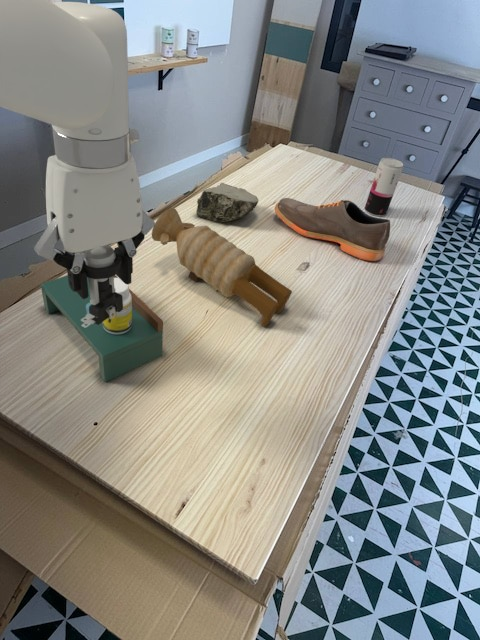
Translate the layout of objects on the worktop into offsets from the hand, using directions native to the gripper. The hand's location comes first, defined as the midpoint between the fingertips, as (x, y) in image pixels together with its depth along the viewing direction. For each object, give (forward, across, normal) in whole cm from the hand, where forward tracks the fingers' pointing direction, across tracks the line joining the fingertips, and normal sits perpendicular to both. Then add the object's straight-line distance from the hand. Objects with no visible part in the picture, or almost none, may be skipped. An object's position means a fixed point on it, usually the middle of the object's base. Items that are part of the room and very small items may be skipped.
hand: (102, 284), depth 60 cm
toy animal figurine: (+21, -32, -13) cm, 40 cm away
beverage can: (+21, -97, -19) cm, 101 cm away
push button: (+5, 0, 0) cm, 5 cm away
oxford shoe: (+21, -72, -16) cm, 76 cm away
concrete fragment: (+21, -54, -37) cm, 69 cm away
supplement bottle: (+15, -6, -7) cm, 18 cm away
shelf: (+21, -6, -13) cm, 26 cm away
